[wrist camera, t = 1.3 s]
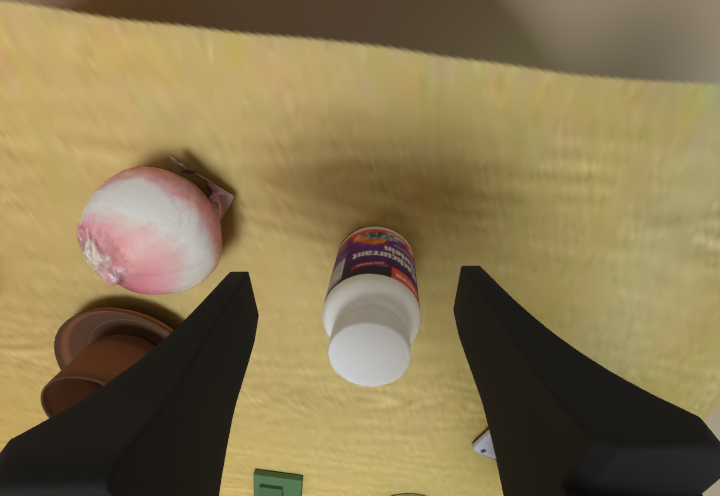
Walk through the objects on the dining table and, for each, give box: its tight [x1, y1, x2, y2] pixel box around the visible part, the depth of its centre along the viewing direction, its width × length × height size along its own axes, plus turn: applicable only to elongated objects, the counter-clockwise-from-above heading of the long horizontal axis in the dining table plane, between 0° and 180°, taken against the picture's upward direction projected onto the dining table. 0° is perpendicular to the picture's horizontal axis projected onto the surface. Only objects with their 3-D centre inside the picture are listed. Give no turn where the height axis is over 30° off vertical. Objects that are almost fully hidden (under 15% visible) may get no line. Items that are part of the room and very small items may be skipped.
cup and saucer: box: [41, 308, 174, 419], centre depth 29 cm, size 12×12×6 cm
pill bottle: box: [323, 227, 421, 386], centre depth 22 cm, size 5×5×10 cm
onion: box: [77, 157, 234, 295], centre depth 22 cm, size 8×8×7 cm
